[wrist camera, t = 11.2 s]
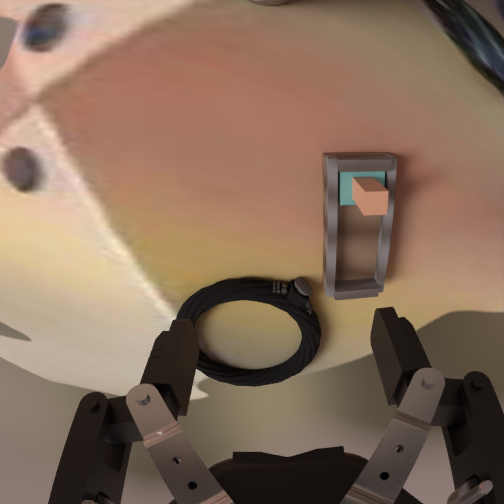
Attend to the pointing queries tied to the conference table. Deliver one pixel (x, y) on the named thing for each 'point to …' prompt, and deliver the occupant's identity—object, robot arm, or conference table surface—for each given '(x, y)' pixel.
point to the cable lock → (262, 291)
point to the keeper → (363, 191)
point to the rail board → (355, 229)
